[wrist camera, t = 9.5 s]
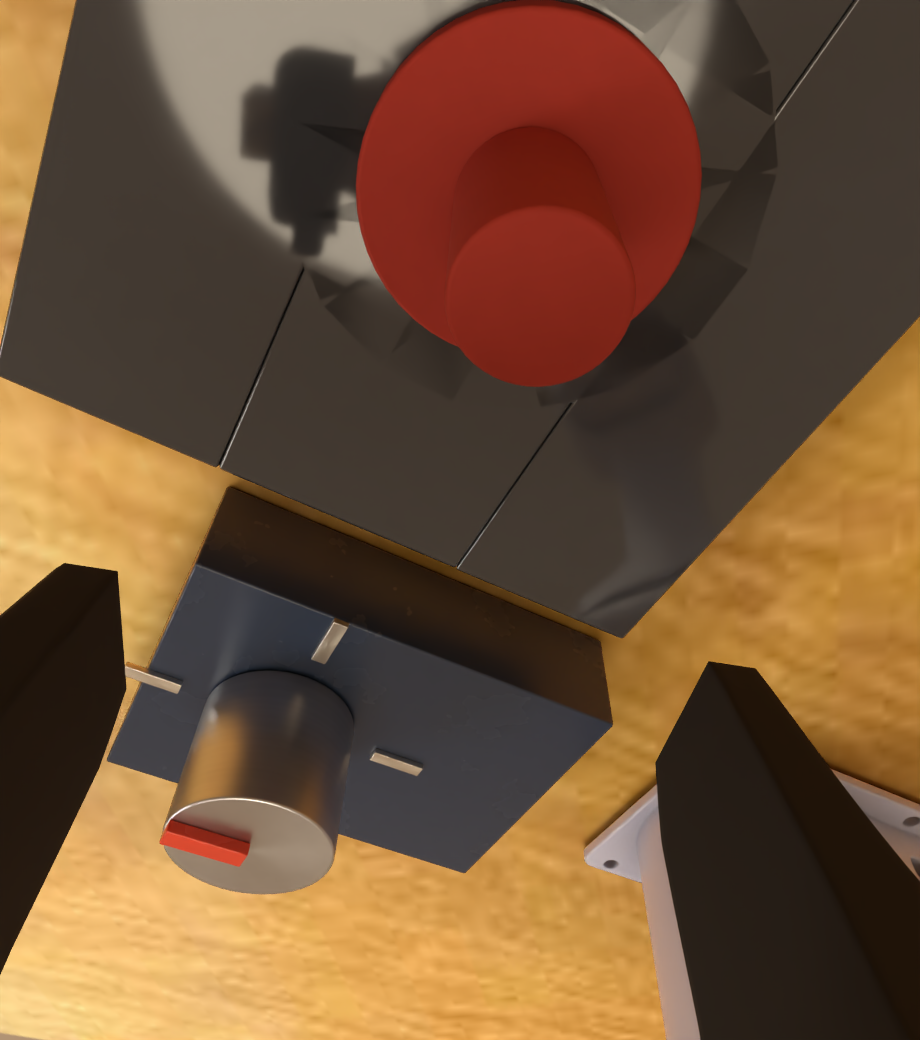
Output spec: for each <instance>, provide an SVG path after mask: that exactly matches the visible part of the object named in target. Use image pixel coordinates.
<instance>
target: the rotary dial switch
mask: <svg viewBox="0 0 920 1040" xmlns="http://www.w3.org/2000/svg"><path fill="white" fill-rule="evenodd" d="M254 671H282V672H289V673H293V674H298V675H301V676H304V677H307V678H310V679H312V680H315V681H317V682H319V683H321V684H322V685H324V686H326V687H327V688H329V689H330V690H332V691H333V692H334V693H335V694H337V695H338V696H339V697H340V698H341V699H342V700H343V702H344V703H345V704H346V706H347V707H348V709H349V711H350V713H351V715H352V718H353V722H354V733H353V740H352V747H351V753H350V760H349V766H348V773H347V779H346V786H345V792H344V799H343V805H342V812H341V818H340V825H339V831H338V834H341V835H344V836H347V837H350V838H353V839H357V840H360V841H363V842H366V843H369V844H373V845H376V846H379V847H382V848H385V849H388V850H392V851H395V852H398V853H401V854H404V855H408V856H411V857H414V858H417V859H420V860H424V861H427V862H430V863H433V864H436V865H439V866H443V867H446V868H449V869H452V870H455V871H459V872H462V873H466V872H467V871H468V870H469V869H470V868H471V867H472V866H473V865H474V864H475V863H476V862H477V861H478V860H479V859H480V858H481V857H482V856H483V855H484V854H485V853H486V852H487V851H488V850H489V849H490V848H491V847H492V846H493V845H494V844H495V843H496V842H497V841H498V840H499V839H500V838H501V837H502V836H503V835H504V834H505V833H506V832H507V831H508V830H509V829H510V828H511V827H512V826H513V825H514V824H515V823H516V822H517V821H518V820H519V819H520V818H521V817H522V816H523V815H524V814H525V813H526V812H527V811H528V810H529V809H530V808H531V807H532V806H533V805H534V804H535V803H536V802H537V801H538V800H539V799H540V798H541V797H542V796H543V795H544V794H545V793H546V792H547V791H548V790H549V789H550V788H551V787H552V786H553V785H554V784H555V783H556V782H557V781H558V780H559V779H560V778H561V777H562V776H563V775H564V774H565V773H566V772H567V771H568V770H569V769H570V768H571V767H572V766H573V765H574V764H575V763H576V762H577V761H578V760H579V759H580V758H581V757H582V756H583V755H584V754H585V753H586V752H587V751H588V750H589V749H590V748H591V747H592V746H593V745H594V744H595V743H596V742H597V741H598V740H599V739H600V738H601V737H602V736H603V735H604V734H605V733H606V732H607V731H608V730H609V729H610V728H611V727H612V725H613V721H612V714H611V707H610V701H609V694H608V687H607V681H606V674H605V667H604V661H603V654H602V647H601V642H600V641H599V640H596V639H594V638H592V637H589V636H587V635H584V634H582V633H580V632H577V631H575V630H572V629H570V628H568V627H565V626H563V625H560V624H558V623H556V622H553V621H551V620H548V619H546V618H544V617H541V616H539V615H536V614H534V613H532V612H529V611H527V610H524V609H522V608H520V607H517V606H515V605H512V604H510V603H508V602H505V601H503V600H500V599H498V598H495V597H493V596H491V595H488V594H486V593H483V592H481V591H479V590H476V589H474V588H471V587H469V586H467V585H464V584H462V583H459V582H457V581H455V580H452V579H450V578H447V577H445V576H443V575H440V574H438V573H435V572H433V571H431V570H428V569H426V568H423V567H421V566H419V565H416V564H414V563H411V562H409V561H407V560H404V559H402V558H399V557H397V556H395V555H392V554H390V553H387V552H385V551H383V550H380V549H378V548H375V547H373V546H371V545H368V544H366V543H363V542H361V541H359V540H356V539H354V538H351V537H349V536H347V535H344V534H342V533H339V532H337V531H335V530H332V529H330V528H327V527H325V526H323V525H320V524H318V523H315V522H313V521H311V520H308V519H306V518H303V517H301V516H299V515H296V514H294V513H291V512H289V511H287V510H284V509H282V508H279V507H277V506H275V505H272V504H270V503H267V502H265V501H263V500H260V499H258V498H255V497H253V496H251V495H248V494H246V493H243V492H241V491H239V490H236V489H234V488H231V487H227V488H226V491H225V493H224V495H223V497H222V500H221V502H220V504H219V506H218V509H217V511H216V513H215V515H214V517H213V520H212V522H211V524H210V526H209V529H208V531H207V533H206V535H205V538H204V540H203V542H202V544H201V547H200V549H199V551H198V553H197V555H196V558H195V560H194V562H193V564H192V567H191V569H190V571H189V573H188V576H187V578H186V580H185V582H184V584H183V587H182V589H181V591H180V593H179V596H178V598H177V600H176V602H175V605H174V607H173V609H172V611H171V614H170V616H169V618H168V620H167V622H166V625H165V627H164V629H163V631H162V634H161V636H160V638H159V640H158V643H157V645H156V647H155V649H154V651H153V654H152V656H151V658H150V660H149V663H148V665H147V667H146V668H144V667H141V666H138V665H135V664H132V663H130V662H127V663H126V666H125V676H126V677H129V678H132V679H135V680H138V681H140V683H139V685H138V688H137V690H136V692H135V695H134V697H133V699H132V702H131V704H130V706H129V709H128V711H127V713H126V716H125V718H124V720H123V723H122V725H121V727H120V730H119V732H118V734H117V737H116V739H115V741H114V744H113V746H112V748H111V751H110V753H109V755H108V758H107V761H108V762H111V763H114V764H118V765H121V766H124V767H127V768H130V769H133V770H137V771H140V772H143V773H146V774H149V775H153V776H156V777H159V778H162V779H165V780H169V781H172V782H175V783H179V780H180V777H181V774H182V771H183V768H184V765H185V762H186V759H187V756H188V753H189V750H190V747H191V744H192V741H193V738H194V735H195V732H196V729H197V726H198V723H199V720H200V718H201V715H202V712H203V709H204V706H205V703H206V701H207V698H208V697H209V695H210V694H211V692H212V691H213V690H214V689H215V688H216V687H217V686H218V685H220V684H221V683H222V682H224V681H226V680H228V679H229V678H232V677H234V676H237V675H240V674H243V673H247V672H254Z"/></svg>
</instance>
